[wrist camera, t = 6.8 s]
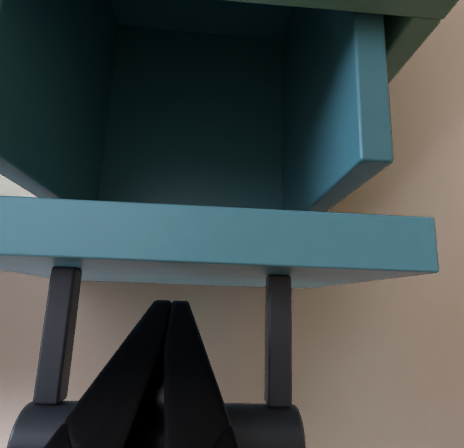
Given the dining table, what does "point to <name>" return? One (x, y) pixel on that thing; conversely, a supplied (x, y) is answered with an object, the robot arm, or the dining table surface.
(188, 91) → the compartment
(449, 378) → the dining table surface
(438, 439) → the dining table surface
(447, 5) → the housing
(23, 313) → the dining table surface
